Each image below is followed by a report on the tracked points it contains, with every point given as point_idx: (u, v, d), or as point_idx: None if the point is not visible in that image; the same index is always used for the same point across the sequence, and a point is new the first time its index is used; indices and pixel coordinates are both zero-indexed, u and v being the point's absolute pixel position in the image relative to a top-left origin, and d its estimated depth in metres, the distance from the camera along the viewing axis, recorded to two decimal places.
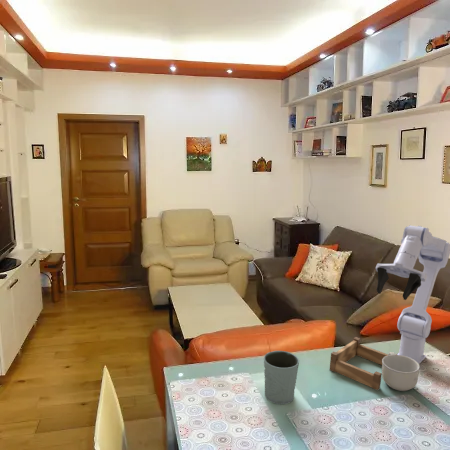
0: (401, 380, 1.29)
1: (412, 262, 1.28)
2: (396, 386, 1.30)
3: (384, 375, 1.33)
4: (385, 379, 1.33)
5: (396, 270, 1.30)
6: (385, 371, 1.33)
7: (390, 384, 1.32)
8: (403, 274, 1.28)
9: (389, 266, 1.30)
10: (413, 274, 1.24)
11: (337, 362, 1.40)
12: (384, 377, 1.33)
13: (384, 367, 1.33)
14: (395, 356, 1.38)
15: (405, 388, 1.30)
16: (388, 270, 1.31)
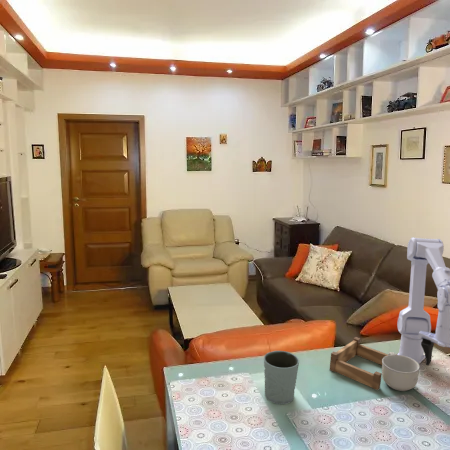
0: (401, 380, 1.29)
1: None
2: (396, 386, 1.30)
3: (384, 375, 1.33)
4: (385, 379, 1.33)
5: None
6: (385, 371, 1.33)
7: (390, 384, 1.32)
8: (448, 346, 1.24)
9: None
10: None
11: (337, 362, 1.40)
12: (384, 377, 1.33)
13: (384, 367, 1.33)
14: (395, 356, 1.38)
15: (405, 388, 1.30)
16: None
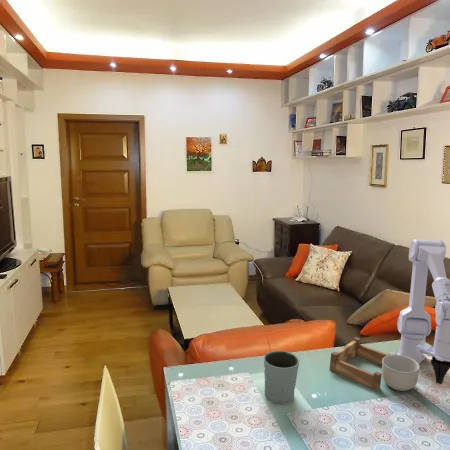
0: (401, 380, 1.29)
1: None
2: (396, 386, 1.30)
3: (384, 375, 1.33)
4: (385, 379, 1.33)
5: None
6: (385, 371, 1.33)
7: (390, 384, 1.32)
8: (446, 360, 1.25)
9: None
10: (444, 366, 1.23)
11: (337, 362, 1.40)
12: (384, 377, 1.33)
13: (384, 367, 1.33)
14: (395, 356, 1.38)
15: (405, 388, 1.30)
16: None
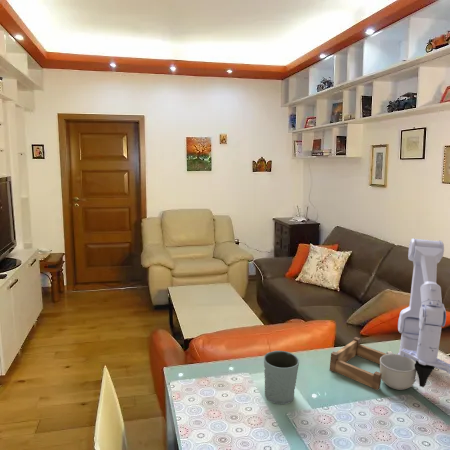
0: (398, 379, 1.30)
1: (435, 354, 1.26)
2: (394, 385, 1.31)
3: (382, 374, 1.34)
4: (383, 378, 1.34)
5: None
6: (382, 370, 1.33)
7: (388, 383, 1.32)
8: (429, 364, 1.29)
9: None
10: (426, 369, 1.27)
11: (337, 362, 1.40)
12: (382, 376, 1.34)
13: (382, 366, 1.33)
14: (393, 355, 1.39)
15: (402, 387, 1.30)
16: None
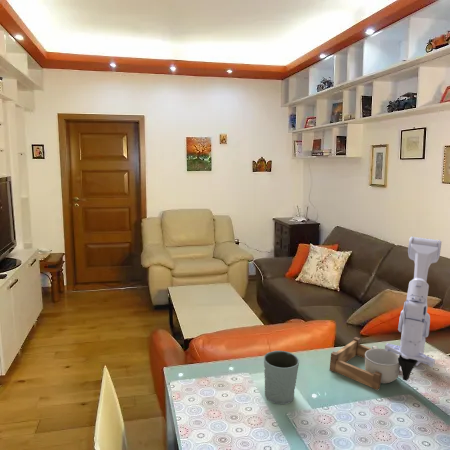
0: (382, 372, 1.33)
1: (418, 348, 1.30)
2: None
3: (366, 368, 1.37)
4: None
5: None
6: (367, 364, 1.37)
7: None
8: (412, 358, 1.32)
9: None
10: (408, 363, 1.30)
11: (337, 362, 1.40)
12: (366, 370, 1.37)
13: (366, 360, 1.37)
14: (378, 350, 1.42)
15: (386, 380, 1.34)
16: None
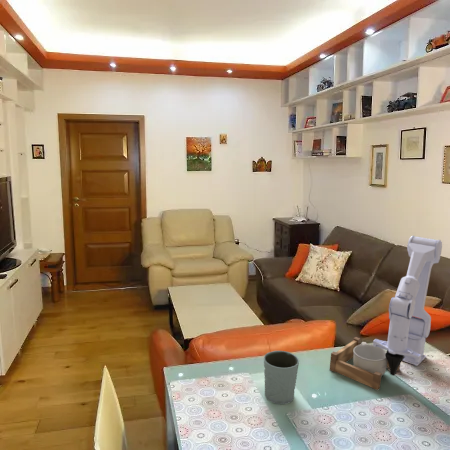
0: (370, 368, 1.36)
1: (404, 343, 1.32)
2: None
3: (355, 363, 1.40)
4: None
5: None
6: (355, 359, 1.39)
7: None
8: (399, 353, 1.35)
9: None
10: (395, 358, 1.33)
11: (337, 362, 1.40)
12: (355, 365, 1.40)
13: (355, 355, 1.39)
14: (366, 345, 1.45)
15: None
16: None
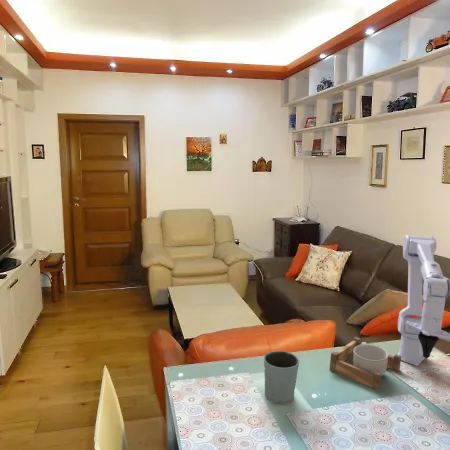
0: (370, 368, 1.36)
1: (439, 325, 1.29)
2: None
3: (355, 363, 1.40)
4: None
5: None
6: (355, 359, 1.39)
7: None
8: (433, 335, 1.31)
9: None
10: (430, 340, 1.30)
11: (337, 362, 1.40)
12: (355, 365, 1.40)
13: (355, 356, 1.39)
14: (366, 346, 1.45)
15: None
16: (418, 329, 1.34)
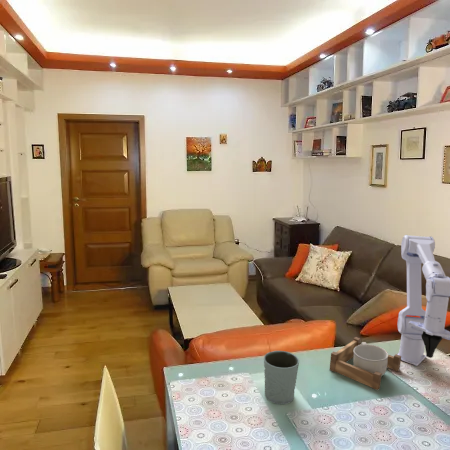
0: (370, 368, 1.36)
1: (442, 324, 1.29)
2: None
3: (355, 363, 1.40)
4: None
5: None
6: (355, 359, 1.39)
7: None
8: (436, 335, 1.32)
9: None
10: (433, 340, 1.30)
11: (337, 362, 1.40)
12: (355, 365, 1.40)
13: (355, 356, 1.39)
14: (366, 346, 1.45)
15: None
16: (421, 329, 1.34)
